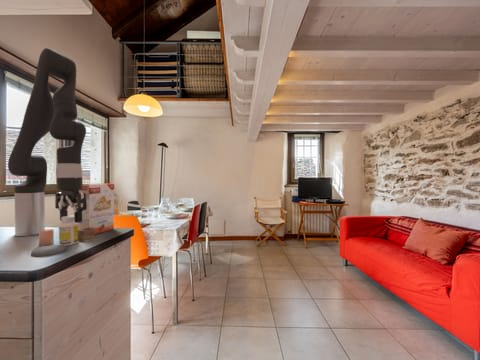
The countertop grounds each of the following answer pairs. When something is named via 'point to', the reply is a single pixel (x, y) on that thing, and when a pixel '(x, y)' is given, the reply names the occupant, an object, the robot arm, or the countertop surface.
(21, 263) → the countertop surface
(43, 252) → the slate pad
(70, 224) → the supplement bottle
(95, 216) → the cracker box
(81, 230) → the walnut block
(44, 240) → the salmon orange block
